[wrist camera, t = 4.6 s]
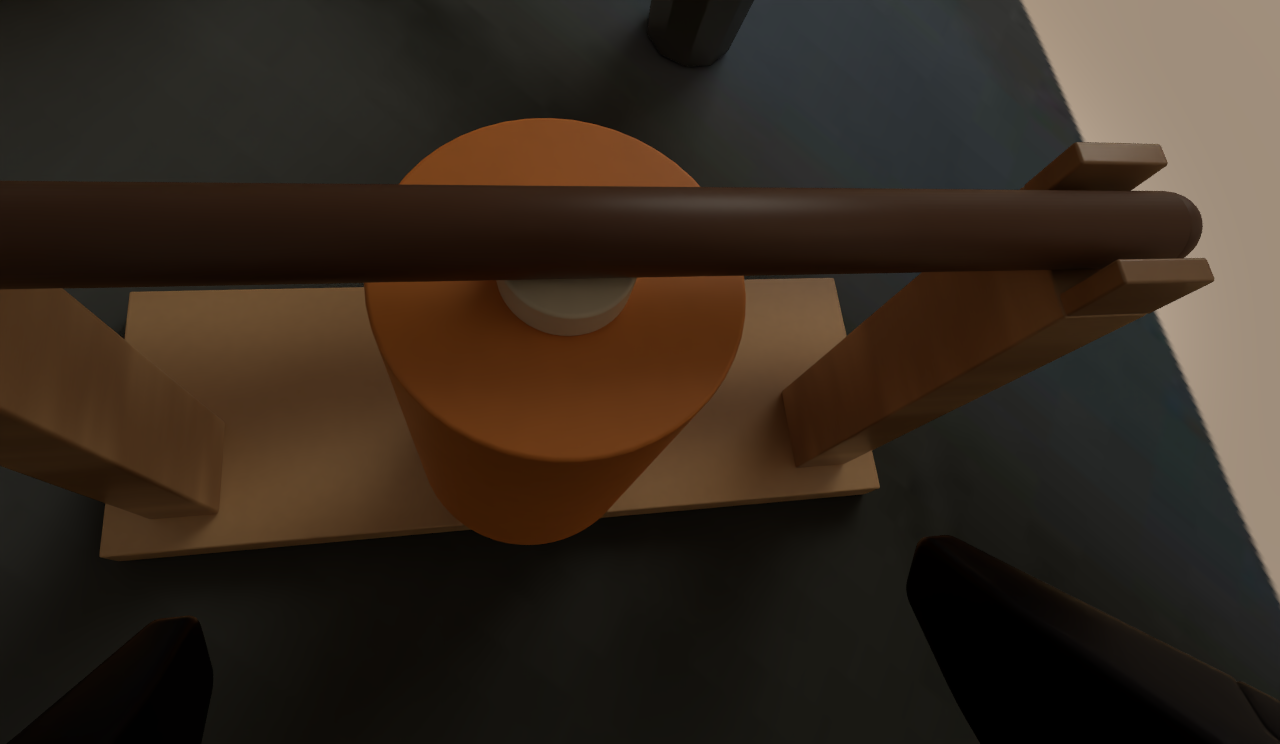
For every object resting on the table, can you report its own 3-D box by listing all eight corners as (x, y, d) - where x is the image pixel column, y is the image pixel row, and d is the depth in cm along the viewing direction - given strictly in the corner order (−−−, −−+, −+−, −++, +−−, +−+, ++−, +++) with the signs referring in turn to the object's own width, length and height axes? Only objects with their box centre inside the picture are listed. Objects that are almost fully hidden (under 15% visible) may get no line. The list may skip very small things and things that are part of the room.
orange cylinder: (891, 510, 21) (1292, 382, 10) (92, 588, 16) (-580, 498, 6) (851, 327, 23) (1157, 62, 12) (119, 353, 18) (-365, -22, 8)
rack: (864, 494, 23) (1292, 329, 11) (117, 561, 18) (-603, 410, 6) (821, 290, 25) (1134, -38, 13) (144, 306, 21) (-348, -172, 8)
